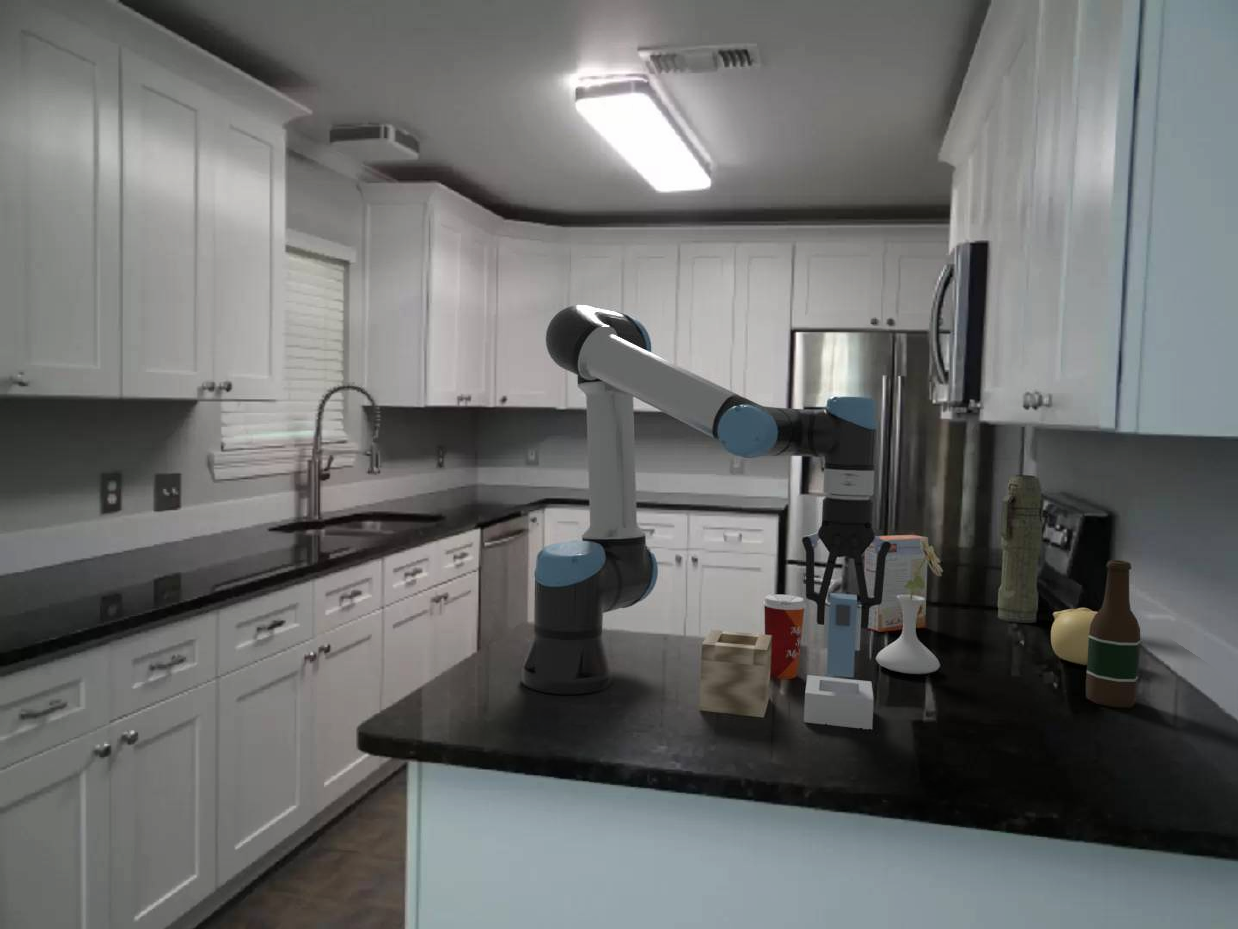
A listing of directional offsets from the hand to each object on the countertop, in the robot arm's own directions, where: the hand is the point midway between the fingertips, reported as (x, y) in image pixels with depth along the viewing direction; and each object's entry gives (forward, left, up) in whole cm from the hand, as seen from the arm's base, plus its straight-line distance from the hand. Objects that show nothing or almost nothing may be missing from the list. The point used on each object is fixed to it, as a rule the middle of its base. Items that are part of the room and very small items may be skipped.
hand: (841, 646), depth 137 cm
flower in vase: (+13, +32, -11) cm, 36 cm away
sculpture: (+47, +51, -11) cm, 70 cm away
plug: (0, 0, -4) cm, 4 cm away
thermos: (+42, +90, -11) cm, 100 cm away
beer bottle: (+45, +24, -11) cm, 52 cm away
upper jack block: (-16, 0, -11) cm, 19 cm away
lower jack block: (0, 0, -11) cm, 11 cm away
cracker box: (+12, +68, -11) cm, 70 cm away
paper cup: (-10, +20, -11) cm, 25 cm away
